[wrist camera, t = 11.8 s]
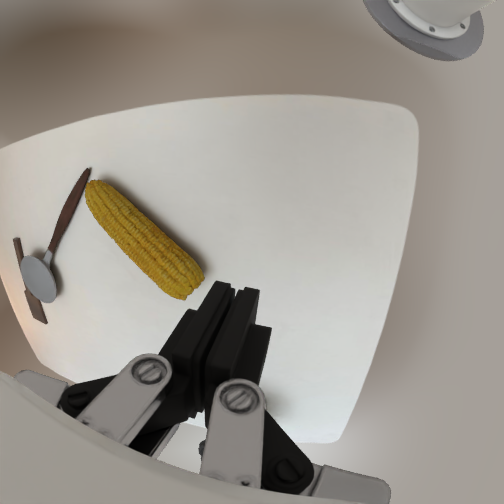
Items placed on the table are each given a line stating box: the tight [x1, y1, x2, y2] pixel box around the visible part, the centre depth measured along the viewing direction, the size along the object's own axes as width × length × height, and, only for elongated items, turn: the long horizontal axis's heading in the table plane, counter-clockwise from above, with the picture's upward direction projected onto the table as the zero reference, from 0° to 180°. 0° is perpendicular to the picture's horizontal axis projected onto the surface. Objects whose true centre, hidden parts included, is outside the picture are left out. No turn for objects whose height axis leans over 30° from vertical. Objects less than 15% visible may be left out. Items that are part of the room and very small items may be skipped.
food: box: [85, 180, 205, 300], centre depth 35 cm, size 21×6×6 cm, turn 50°
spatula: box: [13, 238, 48, 324], centre depth 50 cm, size 22×6×1 cm, turn 175°
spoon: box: [21, 168, 90, 303], centre depth 42 cm, size 11×33×3 cm, turn 136°
